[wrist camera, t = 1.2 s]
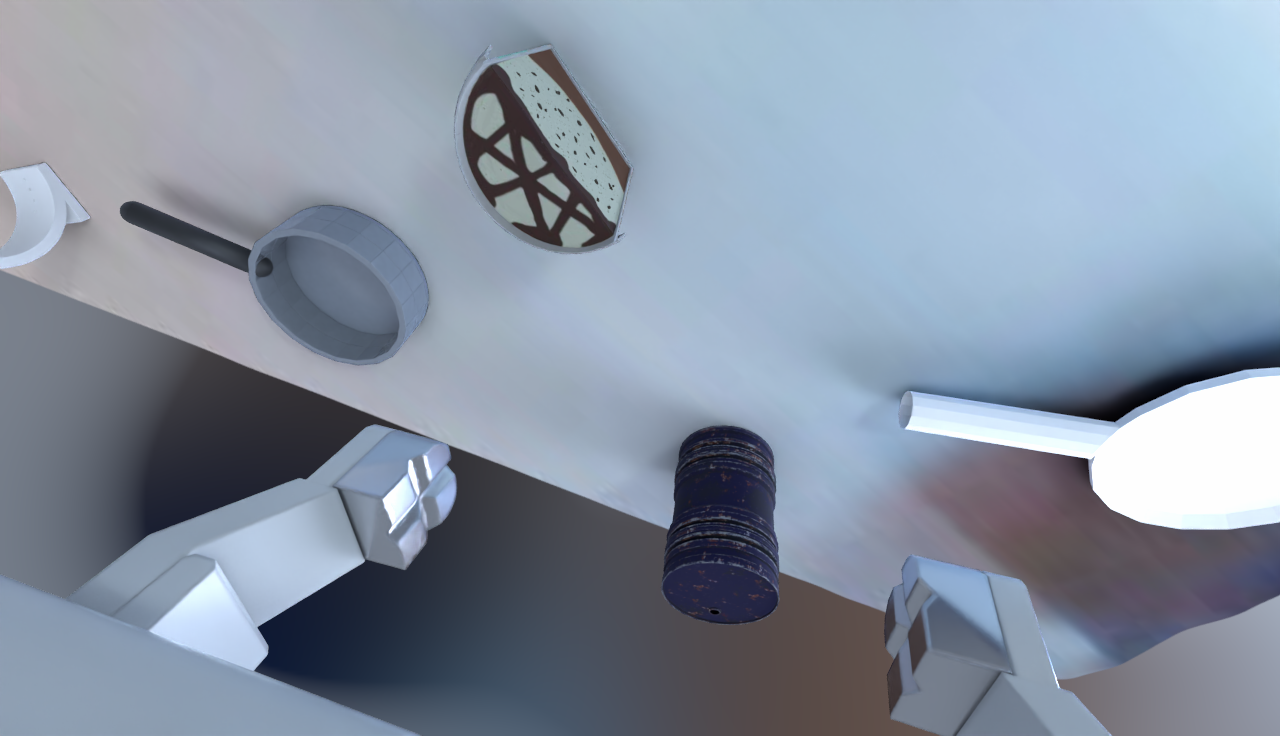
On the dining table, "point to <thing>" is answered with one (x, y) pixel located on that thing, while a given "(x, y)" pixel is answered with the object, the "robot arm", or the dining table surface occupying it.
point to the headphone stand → (37, 213)
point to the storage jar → (723, 529)
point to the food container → (540, 153)
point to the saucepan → (340, 284)
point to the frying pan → (1149, 448)
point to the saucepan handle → (192, 237)
